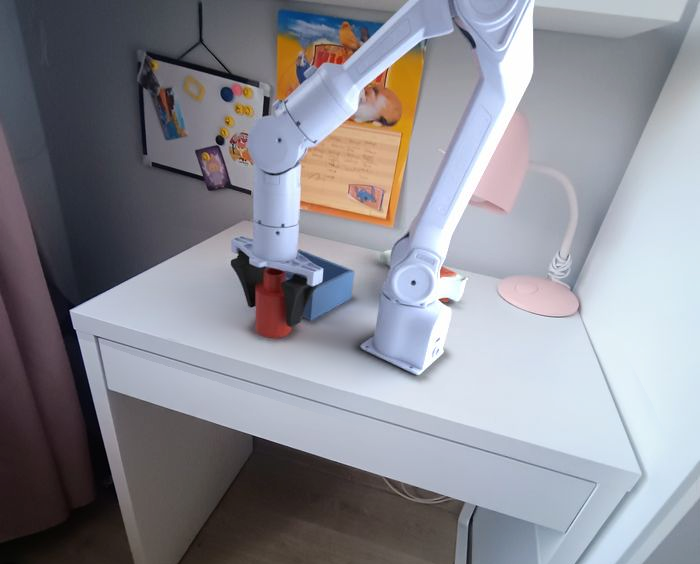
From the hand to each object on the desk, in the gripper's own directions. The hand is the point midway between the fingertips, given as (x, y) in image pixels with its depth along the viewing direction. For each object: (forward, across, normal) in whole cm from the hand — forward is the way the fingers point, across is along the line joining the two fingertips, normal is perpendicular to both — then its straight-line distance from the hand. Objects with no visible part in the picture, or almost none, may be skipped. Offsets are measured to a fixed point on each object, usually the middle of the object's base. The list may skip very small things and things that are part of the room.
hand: (273, 314), depth 66 cm
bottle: (+2, 0, 0) cm, 2 cm away
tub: (+2, -4, +11) cm, 12 cm away
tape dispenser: (+3, +8, +28) cm, 30 cm away
